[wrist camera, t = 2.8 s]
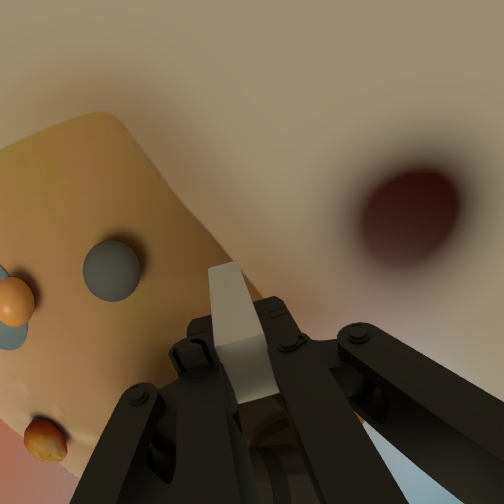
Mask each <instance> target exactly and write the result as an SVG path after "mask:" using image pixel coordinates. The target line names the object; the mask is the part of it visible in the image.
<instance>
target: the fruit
mask: <svg viewBox="0 0 504 504" xmlns="http://www.w3.org/2000/svg"><path fill="white" fill-rule="evenodd" d="M24 444H25V446H26V447H27V449H28V451H29V452H30V453H31V454H32V455H33V456H34V457H36V458H37V459H39V460H41V461H46V462H50V463H55V462H59V461H62V460H63V459H64V458H65V456H66V454H67V445H66V441H65V439H64V437H63V435H62V433H61V432H60V431H59V430H58V428H57V427H56V426H55V425H54V424H53V423H51V422H50V421H48V420H44V419H40V418H38V419H34V418H33V420H32V421H31V423H30V424H29V426H28V427H27V428H26V430H25V433H24Z"/></svg>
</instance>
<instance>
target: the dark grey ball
mask: <svg viewBox="0 0 504 504" xmlns="http://www.w3.org/2000/svg"><path fill="white" fill-rule="evenodd" d="M140 275H141V268H140V263H139V260H138V257H137V255H136V254H135V252H134V251H133V250H132V249H131V248H130V247H129V246H127V245H126V244H124V243H122V242H119V241H114V240H109V241H104V242H101V243H99V244H97V245H96V246H94V247H93V248H92V249H91V250H90V251H89V253H88V254H87V256H86V258H85V261H84V265H83V276H84V280H85V283H86V285H87V287H88V289H89V290H90V291H91V292H92V293H93V294H94V295H95V296H96V297H98V298H100V299H102V300H105V301H110V302H115V301H120V300H123V299H125V298H127V297H128V296H130V295H131V294H132V293H133V292H134V290H135V289H136V287H137V286H138V283H139V280H140Z"/></svg>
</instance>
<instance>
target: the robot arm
mask: <svg viewBox="0 0 504 504" xmlns="http://www.w3.org/2000/svg"><path fill="white" fill-rule="evenodd" d="M208 275H209V288H210V301H211V313H212V315H208V316H204V317H200V318H196V319H192V321H191V322H190V324H189V325H188V327H187V338H185V339H183V340H181V341H179V342H178V343H176V344H175V345H174V346H173V347H172V348H171V349H170V351H169V354H168V355H169V357H170V359H171V361H172V363H173V365H174V367H175V369H176V371H177V373H178V379H177V380H176V381H174V382H173V383H171V384H169V385H167V386H164V387H162V388H160V389H157V388H156V387H155V386H154V385H153V384H151V383H138V384H136V385H133V386H131V387H130V388H128V389H127V390H126V391H125V392H124V393H123V395H122V396H121V398H120V400H119V402H118V403H117V405H116V407H115V409H114V411H113V413H112V415H111V417H110V419H109V421H108V423H107V425H106V427H105V429H104V431H103V433H102V435H101V437H100V439H99V441H98V443H97V445H96V447H95V449H94V451H93V453H92V455H91V457H90V460H89V462H88V464H87V466H86V468H85V470H84V472H83V475H82V477H81V479H80V481H79V483H78V485H77V488H76V490H75V492H74V495H73V497H72V499H71V501H70V504H409V503H408V501H407V500H406V498H405V497H404V495H403V493H402V491H401V489H400V488H399V486H398V484H397V483H396V481H395V480H394V478H393V476H392V474H391V472H390V471H389V469H388V467H387V466H386V464H385V463H384V461H383V459H382V457H381V456H380V454H379V452H378V451H377V449H376V447H375V446H374V444H373V442H372V440H371V439H370V437H369V435H368V434H367V432H366V430H365V429H364V427H363V425H362V424H361V422H360V420H359V419H358V417H357V415H356V414H355V412H356V413H357V414H358V415H359V416H361V417H362V418H363V419H364V420H365V421H366V422H367V423H368V424H369V425H371V426H372V427H373V428H374V429H375V430H376V431H377V432H378V433H379V434H381V435H382V436H383V437H384V438H385V439H386V440H387V441H389V442H390V443H391V444H392V445H393V446H394V447H396V448H397V449H398V450H399V451H400V452H401V453H403V454H404V455H405V456H406V457H407V458H408V459H410V460H411V461H412V462H413V463H414V464H415V465H417V466H418V467H419V468H420V469H421V470H423V471H424V472H425V473H426V474H428V475H429V476H430V477H431V478H432V479H434V480H435V481H436V482H437V483H439V484H440V485H441V486H442V487H444V488H445V489H446V490H448V491H449V492H450V493H451V494H453V495H454V496H455V497H456V498H458V499H459V500H460V501H462V502H463V503H464V504H504V402H503V401H501V400H499V399H498V398H496V397H494V396H492V395H491V394H489V393H487V392H486V391H484V390H482V389H481V388H479V387H477V386H476V385H474V384H472V383H470V382H469V381H467V380H465V379H464V378H462V377H460V376H459V375H457V374H455V373H453V372H452V371H450V370H448V369H447V368H445V367H443V366H442V365H440V364H438V363H437V362H435V361H433V360H432V359H430V358H428V357H427V356H425V355H423V354H421V353H420V352H418V351H416V350H415V349H413V348H411V347H410V346H408V345H406V344H405V343H402V342H401V341H399V340H398V339H396V338H394V337H392V336H391V335H389V334H388V333H386V332H384V331H383V330H381V329H379V328H378V327H376V326H374V325H372V324H369V323H361V322H359V323H352V324H350V325H347V326H345V327H344V328H342V329H341V330H340V331H339V333H338V335H337V339H332V340H323V341H317V340H312V339H310V337H308V336H307V335H306V334H304V333H301V331H300V329H299V328H298V326H297V324H296V322H295V321H294V319H293V317H292V316H291V314H290V313H289V311H288V309H287V308H286V305H285V304H284V302H283V300H281V299H279V298H278V297H276V296H272V297H269V298H265V299H262V300H258V301H255V302H252V300H251V297H250V295H249V292H248V289H247V286H246V284H245V281H244V278H243V275H242V273H241V270H240V267H239V264H238V262H237V260H236V261H233V262H229V263H225V264H222V265H218V266H215V267H211V268H208ZM354 411H355V412H354Z"/></svg>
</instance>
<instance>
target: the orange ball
mask: <svg viewBox="0 0 504 504" xmlns="http://www.w3.org/2000/svg"><path fill="white" fill-rule="evenodd" d="M33 311H34V297H33V294H32V292H31V290H30V288H29V286H28V285H27V284H26V283H25V282H24V281H22V280H21V279H19V278H15V277H8V278H5V279H3V280H1V281H0V321H1V322H2V323H4V324H5V325H7V326H10V327H20V326H23V325H24V324H26V323H27V322H28V321H29V320H30V318H31V316H32V314H33Z"/></svg>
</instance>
